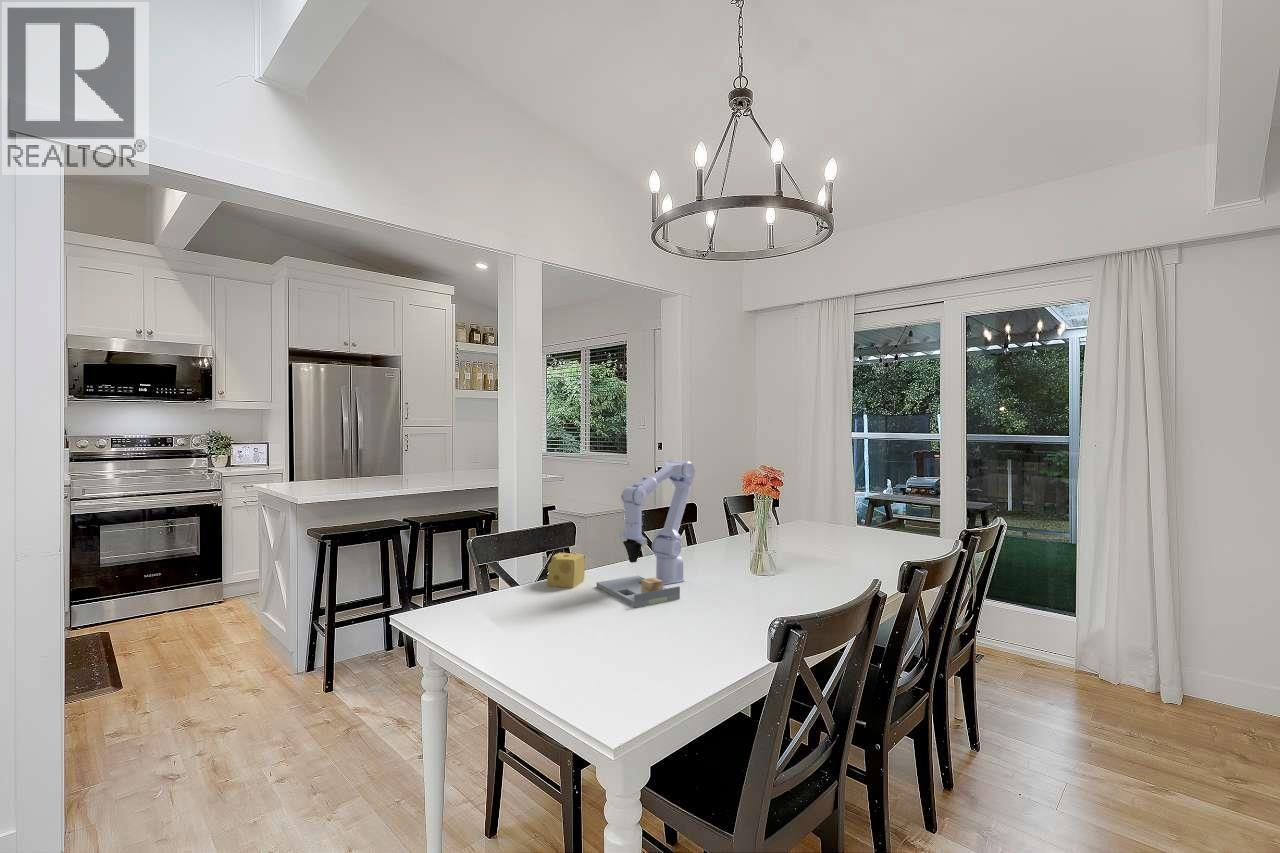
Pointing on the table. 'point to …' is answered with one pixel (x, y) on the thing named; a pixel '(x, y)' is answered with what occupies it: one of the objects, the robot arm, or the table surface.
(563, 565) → the cheese
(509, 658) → the table surface
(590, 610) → the table surface
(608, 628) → the table surface
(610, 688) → the table surface
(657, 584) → the oak block
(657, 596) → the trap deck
